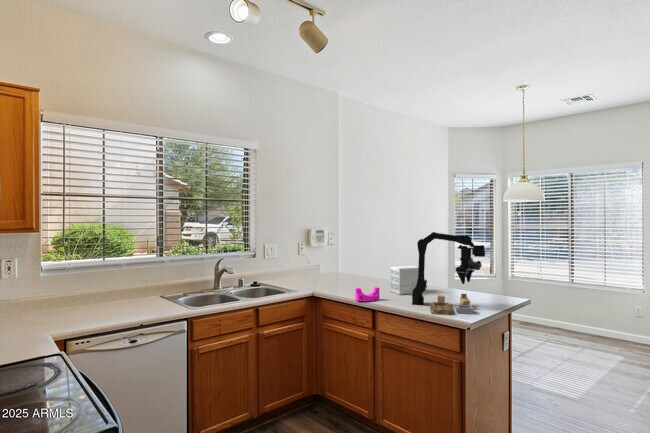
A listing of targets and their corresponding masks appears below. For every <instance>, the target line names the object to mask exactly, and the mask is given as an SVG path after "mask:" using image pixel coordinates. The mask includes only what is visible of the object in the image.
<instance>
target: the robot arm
mask: <svg viewBox="0 0 650 433" xmlns="http://www.w3.org/2000/svg"><path fill="white" fill-rule="evenodd" d="M433 240H442V241H448V242H455V243H457V244H459V245H458V246H457V249H460V258H459V260H460V264H459V266H456V267H455V272H456V274H457V275H458V277H459V280H460V282H461V284H462V285H465V282H466V281H467V283H470V282H471V278H472V274H473V273H474V272H475V270H476V271H479V270H481V268H482V261H480V260H477V261H474V260H473V258H472V256H474V257H477V258H485V257H486V251H485V245H483V244H482V245H476V244H475V243H474V242H473V239H472V237H471V236H469V235H467V234H458V235H454V234H448V233H440V232H435V231H432V232H431V233H430V234H428V235H427V236H426V237H424V238H420V239H418V240H417V250H418V266H417V267H418V279H417V284H416V287H415V288H414V289H413V291H412V293H413V294H411V298H412V300H411V301H412V302H411V305H412V306H424V305H425V296H424V294H423V293H424V292H426V289H427V288H428V285H427V283H428V279H425V268H426V266H425V265H426V264H425V261H426V260H425V259H426V258H425V257H426V252H427V249H428V248H427V246H428V244H430V243H432V241H433Z"/></svg>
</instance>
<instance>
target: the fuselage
mask: <svg viewBox="0 0 650 433" xmlns="http://www.w3.org/2000/svg"><path fill="white" fill-rule="evenodd" d="M459 305H471V300H470V299H469V298H468V295H467V293H460V296H459Z"/></svg>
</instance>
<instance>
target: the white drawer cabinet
mask: <svg viewBox="0 0 650 433" xmlns="http://www.w3.org/2000/svg"><path fill="white" fill-rule="evenodd" d="M418 267H419V266H415V265H411V264H410V265H398V266H397V265H396V266H390V267H389V269H390V270H389V271H390V272H389V273H390V274H389V275H390V280H389V281H390V286H389V287H390V293H392V294H396V295H398V296H400V295H410V294H411V295H412V294H413V293H412V291H413V289H414V288H415V287H416V284H417V279H418Z"/></svg>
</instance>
